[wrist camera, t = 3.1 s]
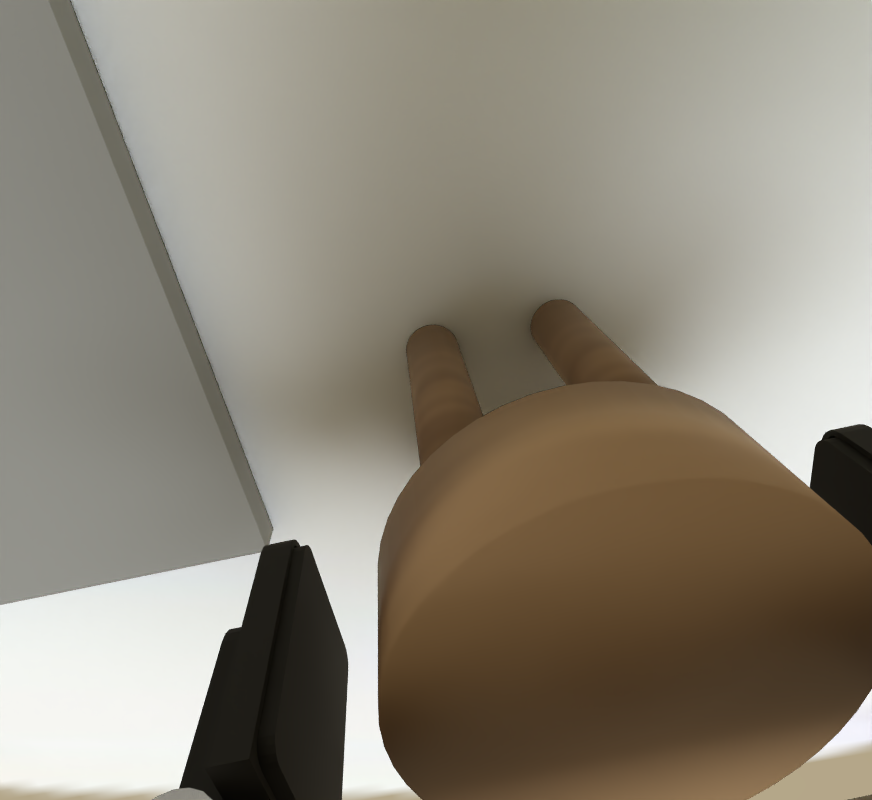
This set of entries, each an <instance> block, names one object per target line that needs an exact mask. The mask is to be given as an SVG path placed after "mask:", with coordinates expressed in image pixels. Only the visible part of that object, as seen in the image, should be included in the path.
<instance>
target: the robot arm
mask: <svg viewBox="0 0 872 800" xmlns="http://www.w3.org/2000/svg"><path fill="white" fill-rule="evenodd" d="M810 488H811V489H812V490H813V491H814V492H815V493H816V494H817V495H819V496H820V497H821V498H822V499H823V500H824V501H826V502H827V503H828V504H829V505H830V506H831V507H832V508H834V509H835V510H836V511H837V512H838V513H839V514H841V515H842V516H843V517H844V518H845V519H846V520H848V521H849V522H850V523H851V524H852V525H853V526H854V527H856V528H857V529H858V530H859V531H860V532H861V533H862V534H863V535H864V537H865V538H866V539H867V540H868V542H869V543H870V544H871V545H872V428H871V427H869V426H866V425H862V424H858V425H854V426H849V427H844V428H839V429H834V430H830V431H828V432H826V433H825V434H824V435H823V438H822V440H821V441H819V442H818V443H817V444H816V447H815V452H814V460H813V467H812V475H811V483H810ZM347 683H348V658H347V652H346V648H345V644H344V642H343V639H342V636H341V633H340V630H339V627H338V625H337V622H336V619H335V616H334V613H333V610H332V608H331V605H330V602H329V599H328V596H327V593H326V591H325V588H324V585H323V582H322V579H321V576H320V574H319V571H318V568H317V565H316V562H315V559H314V557H313V554H312V551H311V549H310V547H309V546H308V545H306V546H301V547H300V545H299V543H298V542H297V540H289V541H284V542H280V543H275V544H270V545H265V546H264V547H263V549H262V551H261V555H260V559H259V562H258V566H257V570H256V574H255V578H254V582H253V585H252V589H251V593H250V597H249V601H248V604H247V608H246V612H245V616H244V620H243V623H242V627H239V628H234V629H229V631H228V632H227V633H226V634H225V636H224V638H223V641H222V644H221V647H220V651H219V654H218V657H217V661H216V664H215V668H214V671H213V675H212V678H211V681H210V685H209V688H208V692H207V695H206V699H205V702H204V705H203V709H202V712H201V716H200V719H199V722H198V726H197V729H196V733H195V736H194V740H193V743H192V746H191V750H190V753H189V757H188V760H187V763H186V767H185V770H184V774H183V777H182V781H181V784H180V787H179V789H174V790H171V791H169V792H166V793H164V794H162V795H159V796H157V797H155V798H154V799H152V800H342V783H343V763H344V743H345V723H346V703H347ZM849 800H872V795H868V796H864V797H859V798H854V799H849Z"/></svg>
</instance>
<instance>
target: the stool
mask: <svg viewBox="0 0 872 800" xmlns="http://www.w3.org/2000/svg"><path fill="white" fill-rule="evenodd" d="M531 334H532V336H533V338H534V340H535V341H536V343H537V344H538V346H539V347H540V349H541V350H542V351H543V353H544V354H545V356H546V357H547V359H548V360H549V362H550V363H551V364H552V366H553V367H554V369H555V370H556V372H557V373H558V374H559V376H560V377H561V379H562V380H563V382H564V383H565V385H566V386H561V387H557V388H553V389H549V390H545V391H542V392H538V393H534V394H531V395H528V396H526V397H523V398H521V399H518V400H516V401H513V402H510V403H508V404H505V405H503V406H501V407H499V408H497V409H495V410H493V411H492V412H490V413H488V414H486V415H484V416H483V414H482V411H481V408H480V405H479V403H478V400H477V397H476V394H475V391H474V388H473V386H472V383H471V380H470V377H469V374H468V371H467V368H466V366H465V363H464V360H463V357H462V354H461V351H460V349H459V346H458V343H457V340H456V338H455V336H454V335H453V334H452V333H451V332H450V331H449V330H448V329H446V328H445V327H442V326H438V325H427V326H424V327H421V328H419V329H418V330H416V331H415V332H414V333H413V334H412V335H411V337H410V338H409V340H408V343H407V347H406V353H407V362H408V370H409V378H410V386H411V394H412V402H413V410H414V418H415V426H416V435H417V443H418V451H419V459H420V468H419V469H418V470H417V471H416V472H415V473H414V475H413V476H412V477H411V479H410V480H409V482H408V483H407V485H406V486H405V488H404V489H403V491H402V492H401V494H400V495H399V497H398V498H397V501H396V503H395V505H394V507H393V509H392V511H391V513H390V515H389V517H388V519H387V523H386V526H385V529H384V532H383V536H382V539H381V544H380V551H379V558H378V711H379V727H380V731H381V735H382V739H383V744H384V747H385V749H386V751H387V754H388V756H389V758H390V760H391V762H392V764H393V766H394V768H395V769H396V771H397V772H398V773H399V775H400V776H401V778H402V779H403V780H404V782H405V783H406V784H407V785H408V786H409V787H410V788H411V789H412V790H413V791H414V792H415V793H416V794H417V795H418V796H419V797H420V798H421V799H422V800H747V799H749V798H751V797H753V796H754V795H756V794H758V793H760V792H762V791H763V790H765V789H767V788H769V787H770V786H772V785H774V784H776V783H777V782H778V781H780V780H781V779H783V778H784V777H786V776H787V775H789V774H790V773H792V772H793V771H795V770H796V769H798V768H799V767H800V766H801V765H803V764H804V763H805V762H806V761H808V760H809V759H810V758H811V757H813V756H814V755H815V754H816V753H818V752H819V751H820V750H821V749H822V748H823V747H824V746H825V745H826V744H827V743H828V742H829V741H830V740H831V739H832V738H833V737H834V736H836V735H837V734H838V733H839V732H840V731H841V729H842V728H843V727H844V726H845V725H846V723H847V722H848V721H849V720H850V719H851V718H852V716H853V715H854V714H855V713H856V712H857V710H858V709H859V707H860V706H861V704H862V703H863V701H864V700H865V698H866V697H867V695H868V694H869V692H870V691H871V689H872V545H871V544H870V543H869V542H868V540H867V539H866V538H865V537H864V535H863V534H862V533H861V532H860V531H859V530H858V529H857V528H856V527H854V526H853V525H852V524H851V523H850V522H849V521H848V520H846V519H845V518H844V517H843V516H842V515H841V514H839V513H838V512H837V511H836V510H835V509H834V508H832V507H831V506H830V505H829V504H828V503H827V502H826V501H824V500H823V499H822V498H821V497H820V496H819V495H817V494H816V493H815V492H814V491H813V490H812V489H811V488H809V487H808V486H807V485H806V484H805V483H804V482H802V481H801V480H800V479H799V478H798V477H797V476H795V475H794V474H793V473H792V472H791V471H790V470H789V469H787V468H786V467H785V466H784V465H783V464H782V463H780V462H779V461H778V460H777V459H776V458H775V457H774V456H772V455H771V454H770V453H769V452H768V451H767V450H765V449H764V448H763V447H762V446H761V445H760V444H759V443H757V442H756V441H755V440H754V439H753V438H752V437H750V436H749V435H748V434H747V433H746V432H745V431H743V430H742V429H741V428H740V427H739V426H738V425H736V424H735V423H734V422H733V421H732V420H731V419H729V418H728V417H727V416H726V415H725V414H724V413H722V412H720V411H719V410H717V409H715V408H714V407H712V406H710V405H709V404H707V403H705V402H704V401H702V400H700V399H697V398H695V397H692V396H690V395H687V394H685V393H682V392H680V391H677V390H673V389H669V388H665V387H661V386H658V385H657V384H656V383H655V382H654V381H653V380H651V379H650V378H649V377H648V376H647V375H646V374H645V373H644V372H643V371H642V370H641V369H640V368H639V367H638V366H637V365H636V364H635V363H634V362H633V361H632V360H631V359H630V358H629V357H628V356H627V355H626V354H625V353H624V352H623V351H622V350H621V349H619V348H618V347H617V346H616V345H615V344H614V343H613V342H612V341H611V340H610V339H609V338H608V337H607V336H606V335H605V334H604V333H603V332H602V331H601V330H600V329H599V328H598V327H597V326H596V325H595V324H594V323H593V322H592V321H591V320H590V319H589V318H588V317H586V316H585V315H584V314H583V313H582V312H581V311H580V310H579V309H578V308H577V307H576V306H575V305H574V304H573V303H571V302H569V301H566V300H552V301H549V302H547V303H545V304H543V305H542V306H541V307H540V308H539V309H538V310H537V311H536V312H535V314H534V316H533V318H532V321H531Z"/></svg>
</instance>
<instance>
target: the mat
mask: <svg viewBox="0 0 872 800" xmlns="http://www.w3.org/2000/svg"><path fill="white" fill-rule="evenodd" d="M272 531H273V528H272V525H271V522H270V520H269V517H268V515H267V512H266V509H265V507H264V504H263V502H262V499H261V496H260V494H259V491H258V489H257V486H256V483H255V481H254V478H253V476H252V473H251V470H250V468H249V465H248V463H247V460H246V457H245V455H244V452H243V450H242V447H241V444H240V442H239V439H238V437H237V434H236V431H235V429H234V426H233V424H232V421H231V418H230V416H229V413H228V410H227V408H226V405H225V403H224V400H223V397H222V395H221V392H220V390H219V387H218V384H217V382H216V379H215V377H214V374H213V371H212V369H211V366H210V364H209V361H208V358H207V356H206V353H205V351H204V348H203V345H202V343H201V340H200V338H199V335H198V332H197V330H196V327H195V325H194V322H193V319H192V317H191V314H190V312H189V309H188V306H187V304H186V301H185V299H184V296H183V293H182V291H181V288H180V286H179V283H178V280H177V278H176V275H175V273H174V270H173V267H172V265H171V262H170V260H169V257H168V254H167V252H166V249H165V247H164V244H163V241H162V239H161V236H160V234H159V231H158V228H157V226H156V223H155V221H154V218H153V215H152V213H151V210H150V208H149V205H148V202H147V200H146V197H145V195H144V192H143V189H142V187H141V184H140V182H139V179H138V176H137V174H136V171H135V169H134V166H133V163H132V161H131V158H130V156H129V153H128V150H127V148H126V145H125V143H124V140H123V137H122V135H121V132H120V130H119V127H118V124H117V122H116V119H115V116H114V114H113V111H112V109H111V106H110V103H109V101H108V98H107V96H106V93H105V90H104V88H103V85H102V83H101V80H100V77H99V75H98V72H97V70H96V67H95V64H94V62H93V59H92V57H91V54H90V51H89V49H88V46H87V44H86V41H85V38H84V36H83V33H82V31H81V28H80V25H79V23H78V20H77V18H76V15H75V12H74V10H73V7H72V5H71V2H70V0H0V605H2V604H7V603H12V602H17V601H22V600H27V599H32V598H37V597H42V596H47V595H52V594H57V593H62V592H67V591H71V590H76V589H81V588H86V587H91V586H96V585H101V584H106V583H111V582H116V581H121V580H126V579H131V578H136V577H141V576H146V575H151V574H156V573H161V572H165V571H170V570H175V569H180V568H185V567H190V566H195V565H200V564H205V563H210V562H215V561H220V560H225V559H230V558H235V557H240V556H245V555H250V554H255V553H260V552H261V551H262V549H263V547H264V546H265V545H269V543H270V539H271V535H272Z"/></svg>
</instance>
